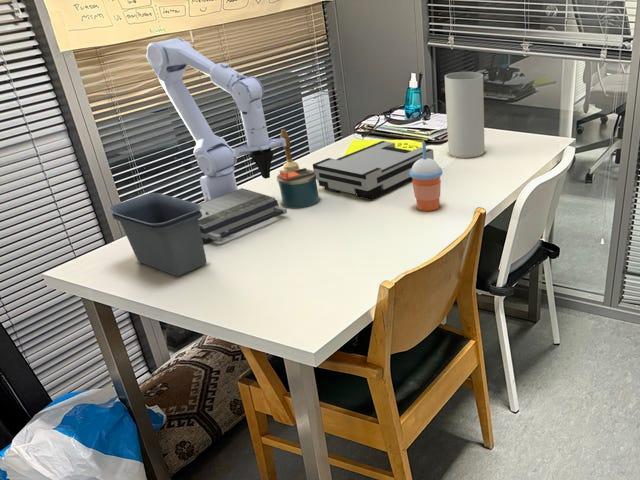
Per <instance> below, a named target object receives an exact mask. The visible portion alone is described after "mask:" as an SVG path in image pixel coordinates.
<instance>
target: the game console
mask: <svg viewBox="0 0 640 480" xmlns="http://www.w3.org/2000/svg"><path fill="white" fill-rule="evenodd" d="M434 156H435V155H434V149H432V148H427V147H426V158H430V159H433V160H434V161H435V158H434ZM421 158H423V148H422V146H421V147H417V148H415V149H413V150H410V149H405V148H398V147H396V144H395V142H393V141H392V142H391V141H385V140H381V141H378V142H376V143H373V144H371V145H368V146H366V147H363V148H361V149H358V150H356V151H353V152H351V153H348V154H346V155H343V156H341V157H338V158H336V159H335V158H330V157H327V158H325V159H323V160H320V161H317V162H315V163H313V164H312V171H314V172H315V173H316V181H318V186H320V187H323V188H324V190H325V191H329V192H335V193H338V194H340V193H342V192H345V193H350V194H353V195H356V198H360V199H364V200H370V201H374V200H376V199H378V198H381V197H383V196H384V195H387V194H388V193H391V192H393V191H395V190H397V189H398V188H401V187H403V186H405V185H407V184H410V183H412V182H413V179H412V177H411V176H410V174H409V171H410V169H411V168H412V166H413V164H414V163H415V162H416V161H417V160H419V159H421Z"/></svg>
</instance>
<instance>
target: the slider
mask: <svg viewBox="0 0 640 480" xmlns="http://www.w3.org/2000/svg"><path fill="white" fill-rule="evenodd" d="M279 174H280V175H279ZM279 174H278V175H279V177H281V178H283V179H285V180H287V179H289V178H293V177H297V176H300V174H298V173H296V172H294V171H293V172H289V173H287V172H285V171H284V170H283V169H282V170H279Z"/></svg>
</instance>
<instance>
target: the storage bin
mask: <svg viewBox="0 0 640 480" xmlns="http://www.w3.org/2000/svg"><path fill="white" fill-rule="evenodd" d="M201 208H202V206H201V205H199V203H196V202H193V201H190V200H189V201H188V200H185V199H181V198H178V197H175V196H170V195H169V194H168V195H167V194H164V193H159V192H152V193H147V194H143V195H139V196H137V197H134V198H131V199H128V200H125V201H122V202H119V203H115V204H113V205H111V206H109V207H108V209H107V211H108V212H109V213H111V216H112V218H113V219H114V220H116V221H117V222H118V221H119V222H120V225H121V227H122V229H123V231H124V233H125V235H126V238H127V240H128V242H129V244H130V247H131V249H132V251H133V254H134V255H135V258H136V260H137V262H139V263H141V264H144V265H146V266H149V267H152V268H154V269H157V270H160V271H162V272H165V273H167V274H171V275H173V276H176V277H177V276H178V277H179V276H183V275H184V274H187V273H189V272H191V271H193V270H196V269H198V268H200V267H202V266H204V265H206V264H207V257H206V252H205V247H204V242H203V241H202V236H201V231H200V226H199V222H198V219H200V218H201V217H202V213H201V211H199V210H200V209H201Z"/></svg>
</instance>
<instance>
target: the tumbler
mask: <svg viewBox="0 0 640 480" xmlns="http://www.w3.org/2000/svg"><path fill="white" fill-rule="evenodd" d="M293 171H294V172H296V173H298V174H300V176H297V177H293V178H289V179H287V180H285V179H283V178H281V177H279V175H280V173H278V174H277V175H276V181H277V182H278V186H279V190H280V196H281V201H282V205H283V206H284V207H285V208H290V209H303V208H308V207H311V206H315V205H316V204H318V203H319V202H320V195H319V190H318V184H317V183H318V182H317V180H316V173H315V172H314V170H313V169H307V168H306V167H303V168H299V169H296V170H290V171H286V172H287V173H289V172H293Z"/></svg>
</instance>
